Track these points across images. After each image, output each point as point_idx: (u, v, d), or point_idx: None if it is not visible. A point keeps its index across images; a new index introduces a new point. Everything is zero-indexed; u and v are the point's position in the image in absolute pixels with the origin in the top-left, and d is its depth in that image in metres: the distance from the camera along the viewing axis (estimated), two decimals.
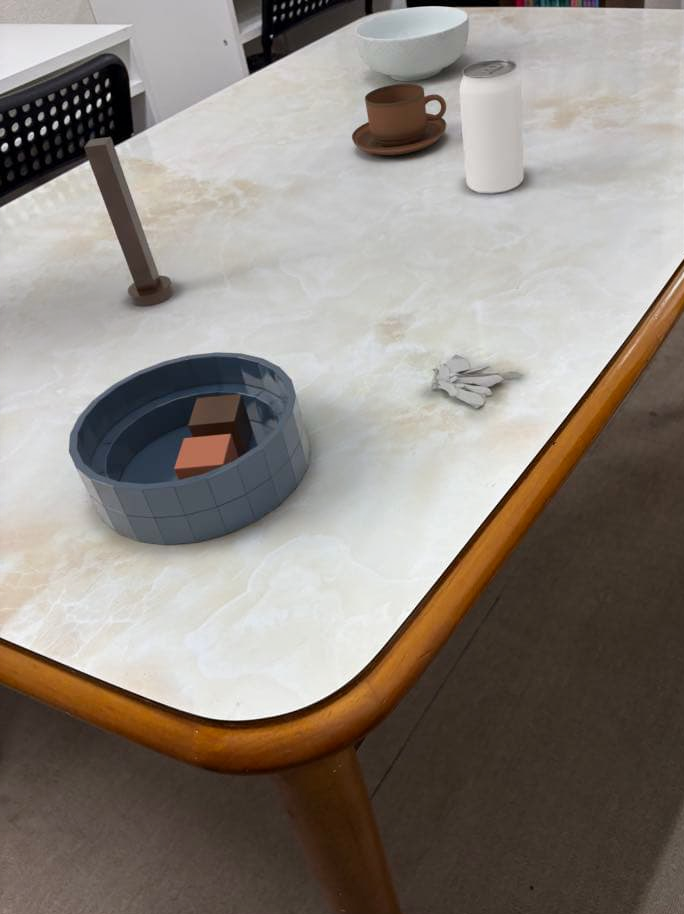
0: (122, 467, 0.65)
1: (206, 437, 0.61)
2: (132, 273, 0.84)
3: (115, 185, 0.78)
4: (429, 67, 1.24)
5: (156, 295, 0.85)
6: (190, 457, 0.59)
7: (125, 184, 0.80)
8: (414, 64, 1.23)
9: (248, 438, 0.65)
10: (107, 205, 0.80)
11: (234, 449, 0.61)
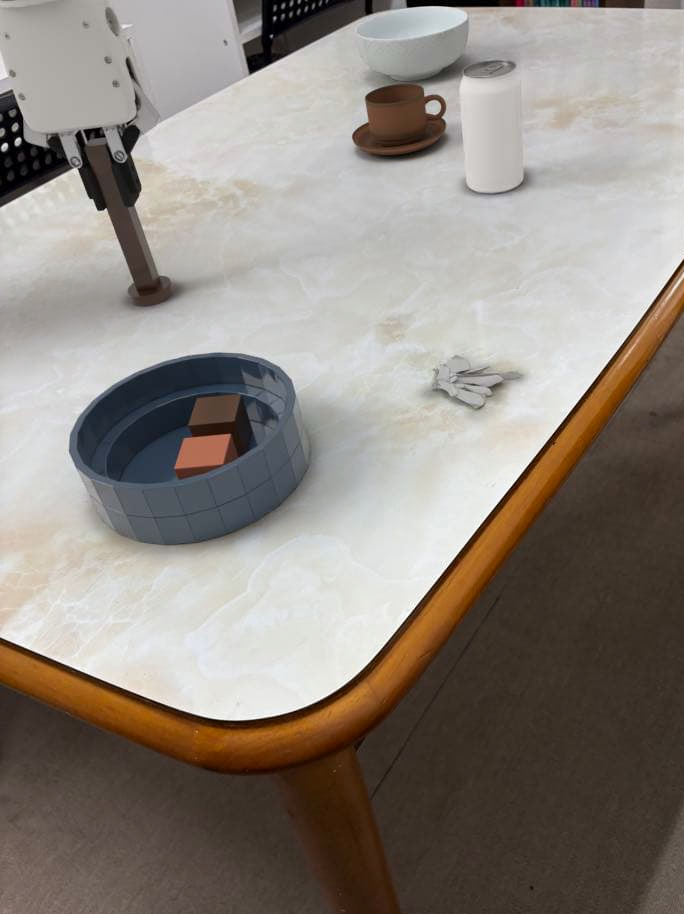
0: (122, 467, 0.65)
1: (206, 437, 0.61)
2: (132, 273, 0.84)
3: (114, 185, 0.78)
4: (429, 67, 1.24)
5: (156, 295, 0.85)
6: (190, 457, 0.59)
7: None
8: (414, 64, 1.23)
9: (248, 438, 0.65)
10: (107, 205, 0.80)
11: (234, 449, 0.61)
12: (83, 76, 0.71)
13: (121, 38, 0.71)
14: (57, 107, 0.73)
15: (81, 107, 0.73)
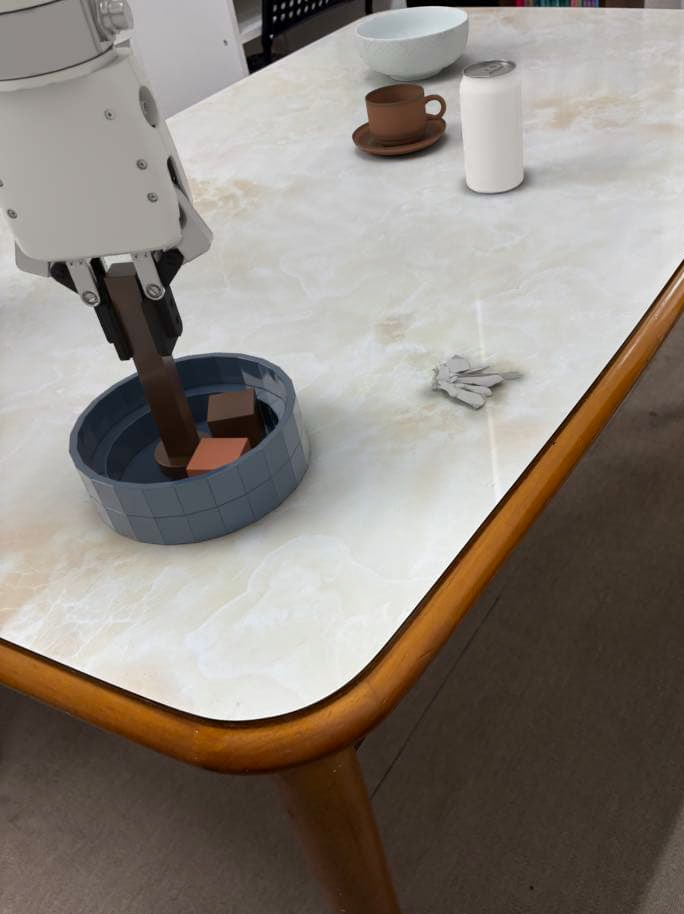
0: (122, 467, 0.65)
1: (223, 439, 0.60)
2: (162, 435, 0.61)
3: (145, 327, 0.55)
4: (429, 67, 1.24)
5: None
6: (203, 458, 0.59)
7: None
8: (414, 64, 1.23)
9: (263, 431, 0.66)
10: (133, 352, 0.56)
11: None
12: (103, 188, 0.47)
13: (161, 130, 0.48)
14: (64, 229, 0.49)
15: (100, 229, 0.49)
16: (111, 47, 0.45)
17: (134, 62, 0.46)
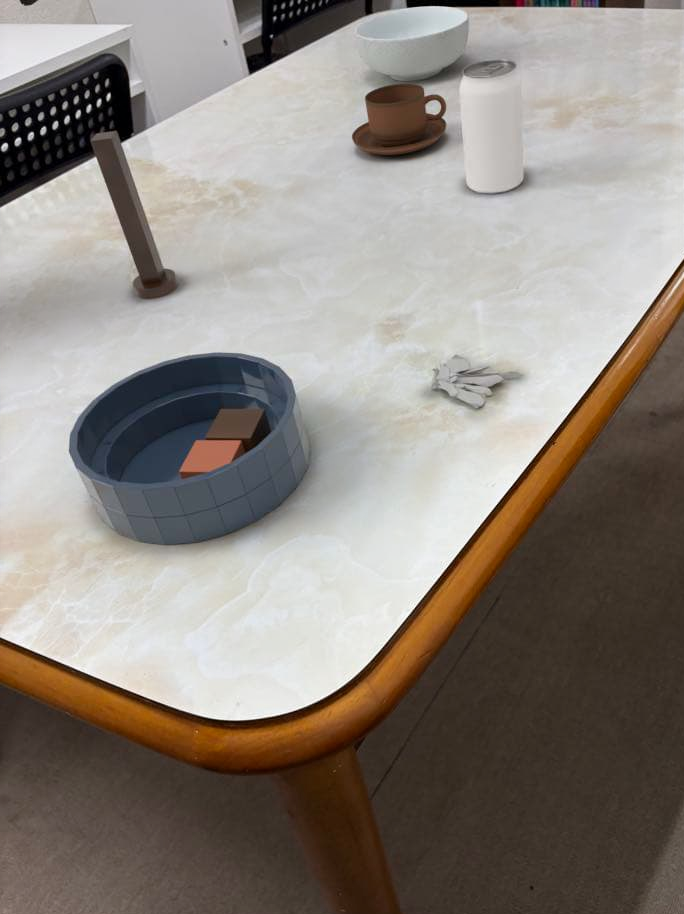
0: (122, 467, 0.65)
1: (217, 441, 0.60)
2: (137, 266, 0.85)
3: (120, 178, 0.79)
4: (429, 67, 1.24)
5: (161, 288, 0.86)
6: (196, 461, 0.59)
7: (130, 178, 0.81)
8: (414, 64, 1.23)
9: None
10: (113, 198, 0.81)
11: None
12: None
13: None
14: None
15: None
16: None
17: None
